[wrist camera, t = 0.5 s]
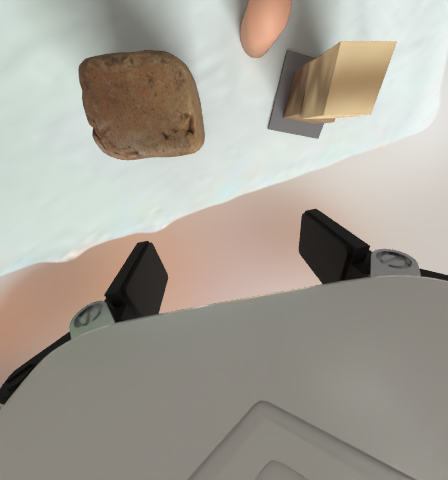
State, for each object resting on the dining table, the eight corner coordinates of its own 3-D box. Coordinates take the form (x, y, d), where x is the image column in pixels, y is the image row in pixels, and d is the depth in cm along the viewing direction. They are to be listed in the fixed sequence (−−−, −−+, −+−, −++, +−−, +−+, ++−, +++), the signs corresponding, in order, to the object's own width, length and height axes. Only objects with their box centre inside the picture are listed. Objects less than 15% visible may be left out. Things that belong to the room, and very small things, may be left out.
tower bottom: (295, 71, 27) (315, 57, 22) (328, 80, 28) (355, 68, 23) (282, 117, 30) (297, 114, 25) (313, 123, 31) (333, 122, 26)
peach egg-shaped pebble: (244, 1, 23) (254, -37, 18) (278, 12, 24) (297, -22, 19) (237, 53, 25) (244, 33, 20) (268, 61, 26) (282, 44, 21)
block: (201, 95, 28) (192, 36, 11) (206, 147, 32) (204, 162, 15) (134, 98, 27) (15, 41, 10) (147, 150, 31) (77, 170, 14)
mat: (286, 51, 26) (287, 50, 25) (343, 67, 27) (345, 66, 27) (268, 128, 31) (268, 128, 31) (317, 138, 32) (318, 138, 32)
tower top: (310, 62, 22) (341, 41, 17) (354, 62, 22) (397, 41, 17) (300, 119, 25) (323, 115, 20) (338, 118, 25) (370, 114, 20)
